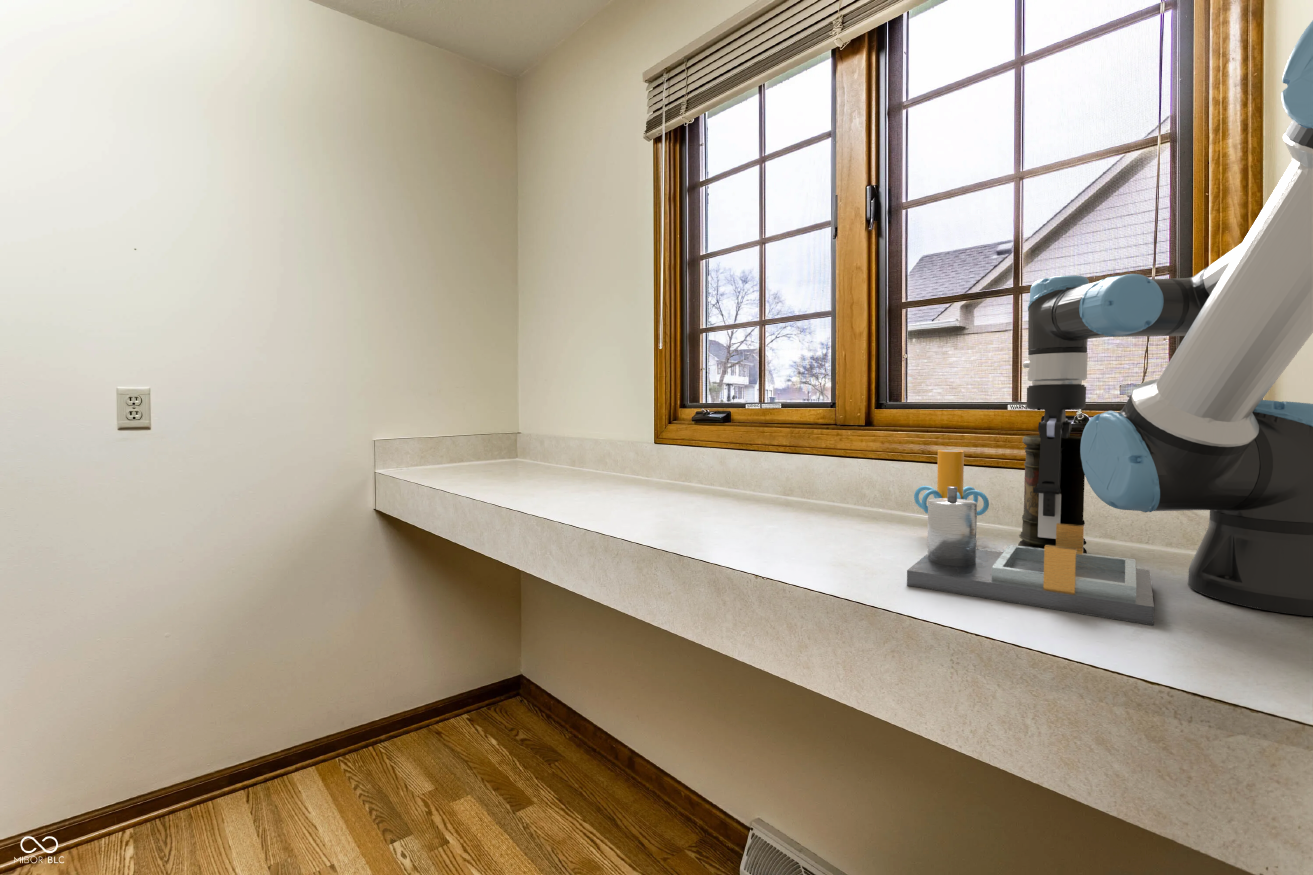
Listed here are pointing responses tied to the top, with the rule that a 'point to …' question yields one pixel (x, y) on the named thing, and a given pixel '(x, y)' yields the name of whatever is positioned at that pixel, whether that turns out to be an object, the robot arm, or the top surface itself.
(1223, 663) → the top surface
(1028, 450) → the container
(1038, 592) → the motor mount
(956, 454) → the orange cylinder with loops
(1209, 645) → the top surface
